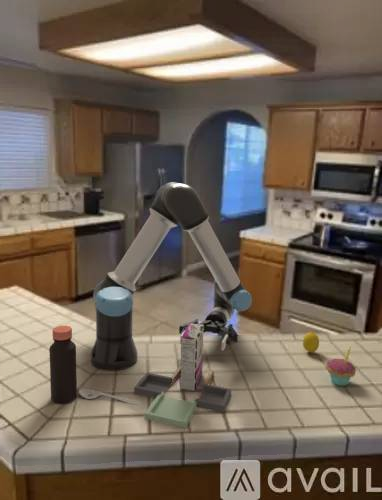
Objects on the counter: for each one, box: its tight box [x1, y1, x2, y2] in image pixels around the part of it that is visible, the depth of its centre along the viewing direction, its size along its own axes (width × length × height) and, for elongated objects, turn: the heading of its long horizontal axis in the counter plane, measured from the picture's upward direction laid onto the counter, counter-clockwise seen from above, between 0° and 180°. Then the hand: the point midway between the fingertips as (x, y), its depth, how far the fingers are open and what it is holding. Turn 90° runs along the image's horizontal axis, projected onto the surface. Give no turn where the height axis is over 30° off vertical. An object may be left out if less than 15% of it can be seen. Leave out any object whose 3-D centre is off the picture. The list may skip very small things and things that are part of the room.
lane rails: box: [171, 364, 215, 391], centre depth 121 cm, size 11×10×2 cm
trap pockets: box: [133, 372, 232, 414], centre depth 112 cm, size 26×9×2 cm, turn 72°
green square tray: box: [144, 392, 198, 429], centre depth 104 cm, size 11×11×2 cm
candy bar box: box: [179, 322, 204, 392], centre depth 118 cm, size 11×5×16 cm, turn 168°
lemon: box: [302, 331, 320, 354], centre depth 141 cm, size 6×6×8 cm
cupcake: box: [325, 346, 357, 386], centre depth 121 cm, size 9×8×12 cm
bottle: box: [48, 325, 78, 405], centre depth 107 cm, size 7×7×20 cm
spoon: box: [78, 388, 141, 405], centre depth 109 cm, size 4×21×2 cm, turn 79°
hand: (201, 343), depth 126 cm, fingers open, 13 cm apart
